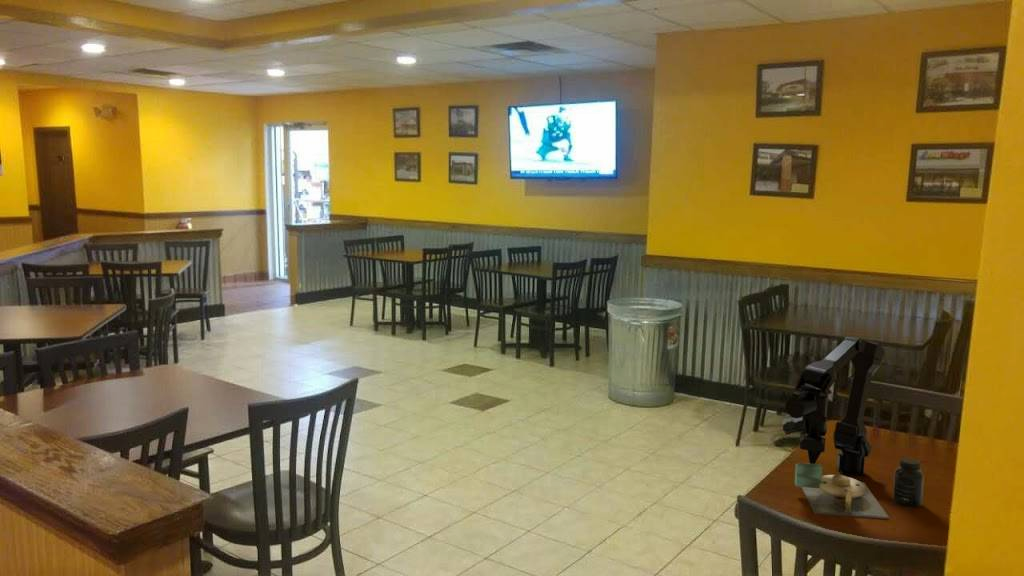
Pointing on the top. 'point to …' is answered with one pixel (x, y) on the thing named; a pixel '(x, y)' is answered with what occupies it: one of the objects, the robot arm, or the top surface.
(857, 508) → the base
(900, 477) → the supplement bottle
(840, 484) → the flange
